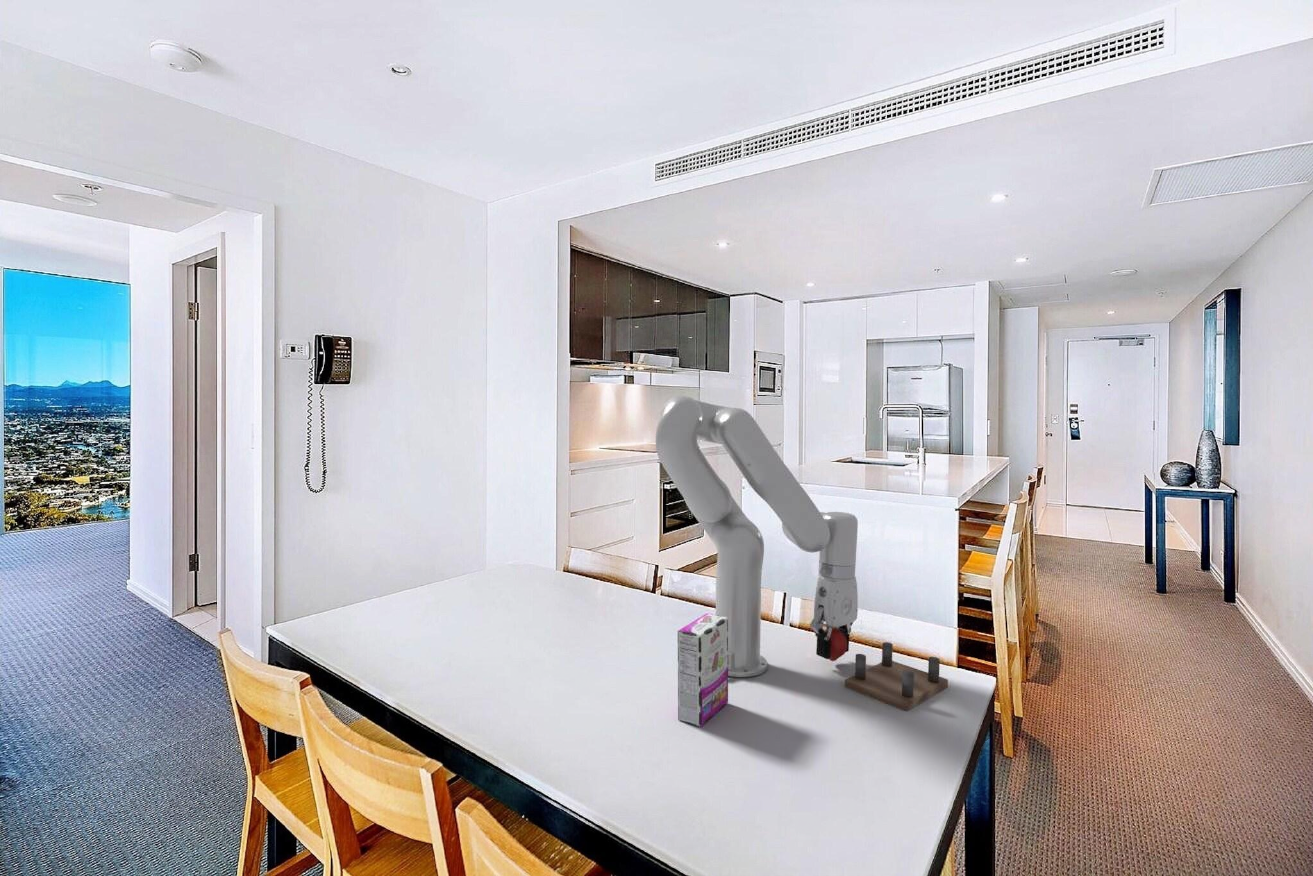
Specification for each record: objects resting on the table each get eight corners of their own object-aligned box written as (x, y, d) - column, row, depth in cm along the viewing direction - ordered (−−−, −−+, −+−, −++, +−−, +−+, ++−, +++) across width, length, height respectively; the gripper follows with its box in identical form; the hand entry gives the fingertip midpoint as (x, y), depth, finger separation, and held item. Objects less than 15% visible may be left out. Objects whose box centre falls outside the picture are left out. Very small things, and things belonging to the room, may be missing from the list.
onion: (814, 655, 141) (816, 619, 140) (840, 655, 141) (842, 619, 141) (823, 666, 135) (825, 628, 135) (850, 666, 136) (852, 629, 135)
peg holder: (906, 711, 118) (907, 679, 117) (844, 686, 127) (845, 657, 127) (947, 686, 128) (948, 657, 128) (887, 666, 138) (888, 638, 137)
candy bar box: (705, 696, 123) (706, 612, 122) (728, 703, 120) (730, 616, 119) (675, 720, 113) (676, 629, 112) (700, 728, 111) (701, 635, 110)
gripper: (827, 580, 129) (823, 668, 130) (874, 568, 140) (870, 650, 141) (797, 572, 134) (793, 656, 135) (844, 561, 146) (840, 639, 147)
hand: (832, 652), depth 138 cm, fingers closed on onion, 5 cm apart
